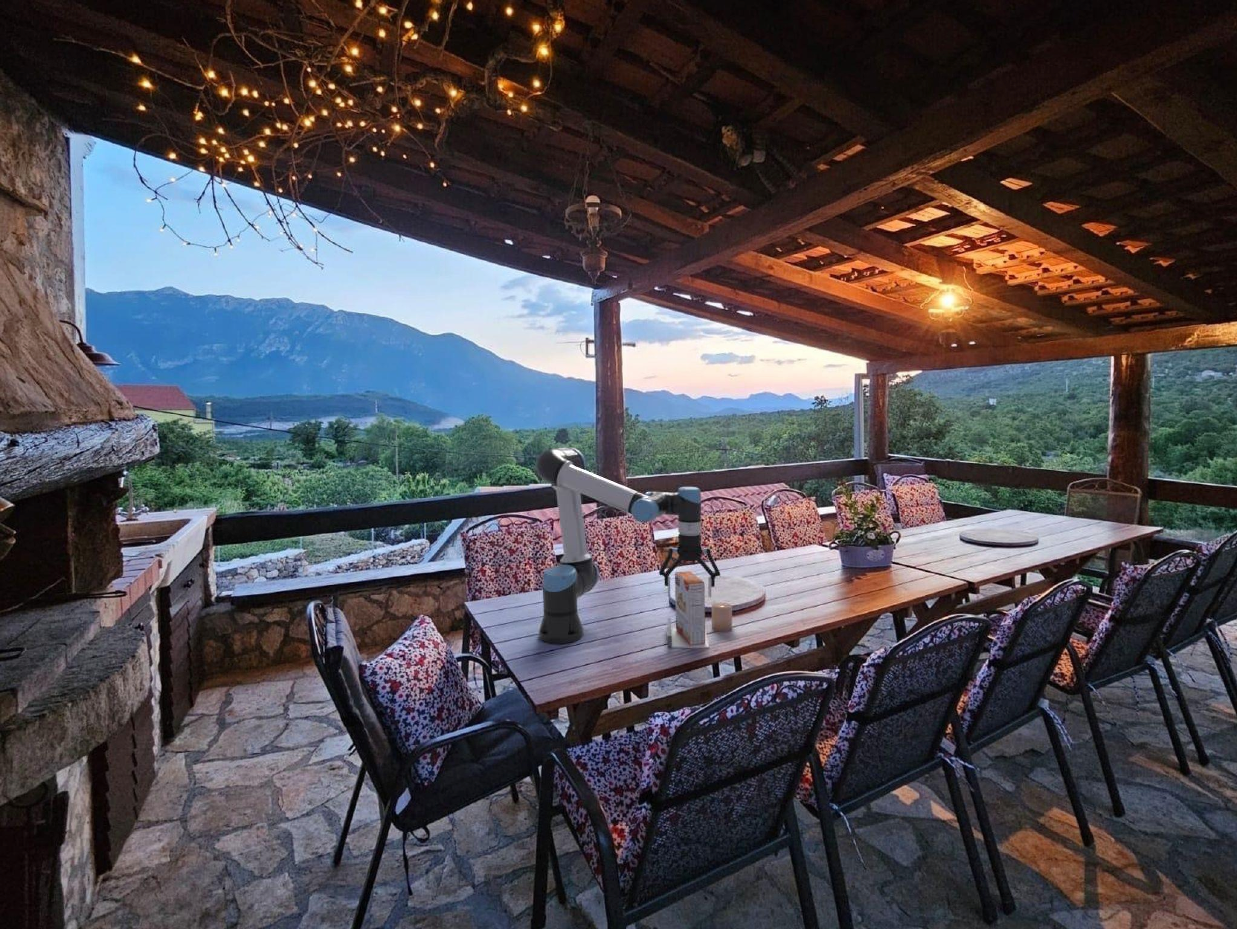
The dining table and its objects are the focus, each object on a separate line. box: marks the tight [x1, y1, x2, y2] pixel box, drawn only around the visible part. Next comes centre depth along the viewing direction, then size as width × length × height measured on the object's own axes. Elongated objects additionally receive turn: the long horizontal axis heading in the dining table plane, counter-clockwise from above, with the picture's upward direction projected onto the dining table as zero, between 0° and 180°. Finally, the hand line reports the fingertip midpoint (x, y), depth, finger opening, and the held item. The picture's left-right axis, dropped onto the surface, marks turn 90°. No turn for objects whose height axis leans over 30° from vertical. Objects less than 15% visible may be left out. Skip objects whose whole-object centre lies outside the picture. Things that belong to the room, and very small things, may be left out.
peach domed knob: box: [711, 602, 733, 633], centre depth 195 cm, size 7×7×8 cm
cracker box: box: [674, 570, 706, 645], centre depth 186 cm, size 14×6×21 cm, turn 12°
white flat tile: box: [666, 617, 710, 649], centre depth 186 cm, size 13×16×4 cm
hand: (689, 595), depth 185 cm, fingers open, 13 cm apart
